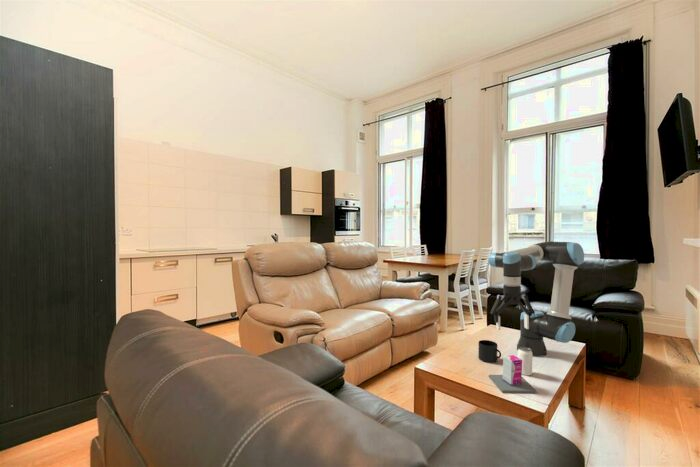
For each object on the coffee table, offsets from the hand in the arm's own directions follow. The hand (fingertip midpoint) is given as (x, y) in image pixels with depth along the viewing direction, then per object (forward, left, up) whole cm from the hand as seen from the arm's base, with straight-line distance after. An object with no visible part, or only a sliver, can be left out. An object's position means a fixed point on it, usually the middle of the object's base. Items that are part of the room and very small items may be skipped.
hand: (512, 328), depth 156 cm
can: (-8, -4, -24) cm, 25 cm away
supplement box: (+4, +8, -23) cm, 24 cm away
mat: (+4, +8, -23) cm, 25 cm away
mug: (+3, -19, -24) cm, 30 cm away
